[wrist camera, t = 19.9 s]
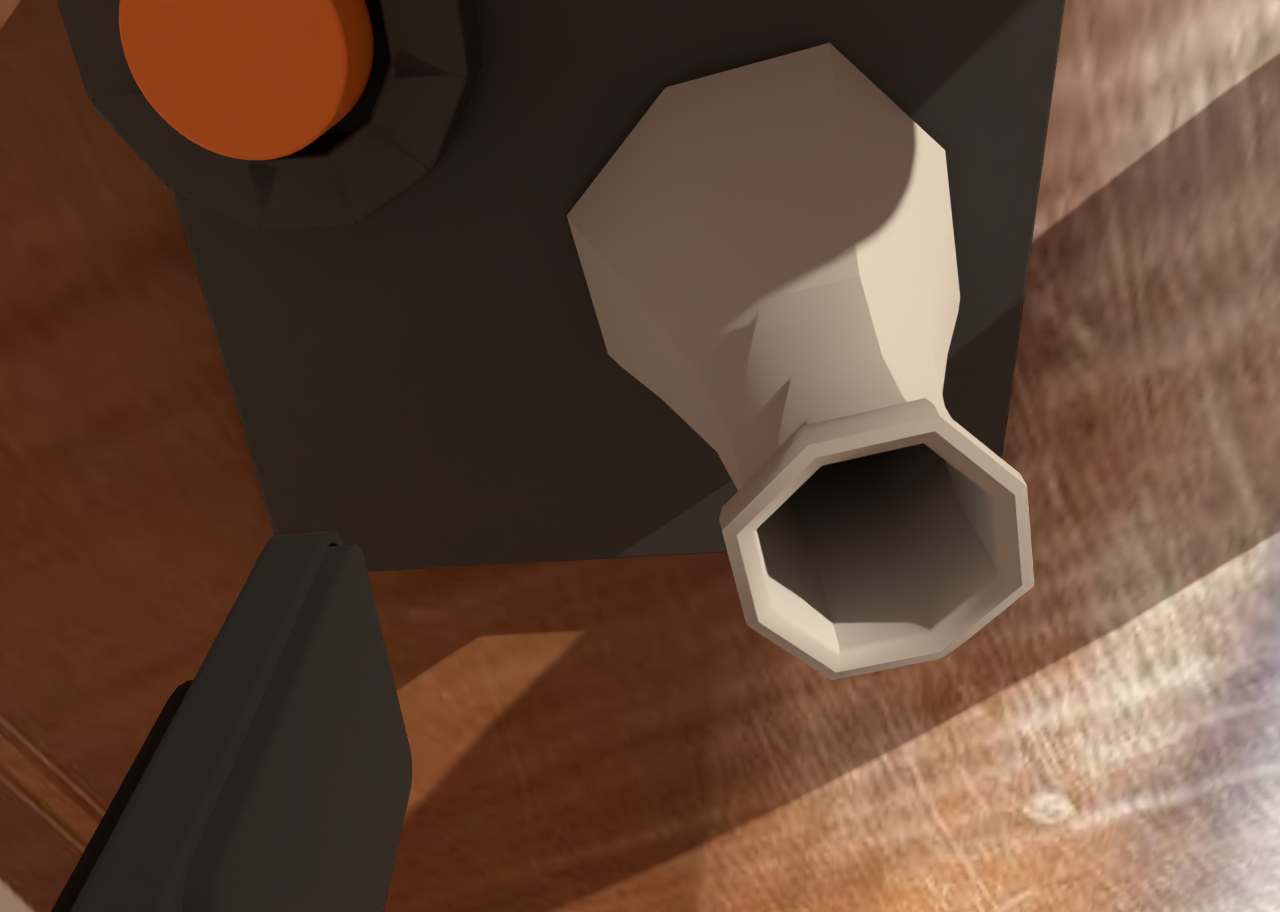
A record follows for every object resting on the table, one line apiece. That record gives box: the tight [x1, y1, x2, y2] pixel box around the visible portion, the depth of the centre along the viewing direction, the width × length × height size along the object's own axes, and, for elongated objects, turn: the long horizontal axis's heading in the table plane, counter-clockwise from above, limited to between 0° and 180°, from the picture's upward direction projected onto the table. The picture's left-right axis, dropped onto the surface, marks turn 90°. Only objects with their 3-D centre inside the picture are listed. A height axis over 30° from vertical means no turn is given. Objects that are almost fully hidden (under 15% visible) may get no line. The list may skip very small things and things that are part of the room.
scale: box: [57, 0, 1065, 572], centre depth 19 cm, size 16×15×3 cm
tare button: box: [119, 0, 374, 160], centre depth 15 cm, size 3×3×2 cm
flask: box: [567, 43, 1034, 680], centre depth 15 cm, size 7×7×10 cm
